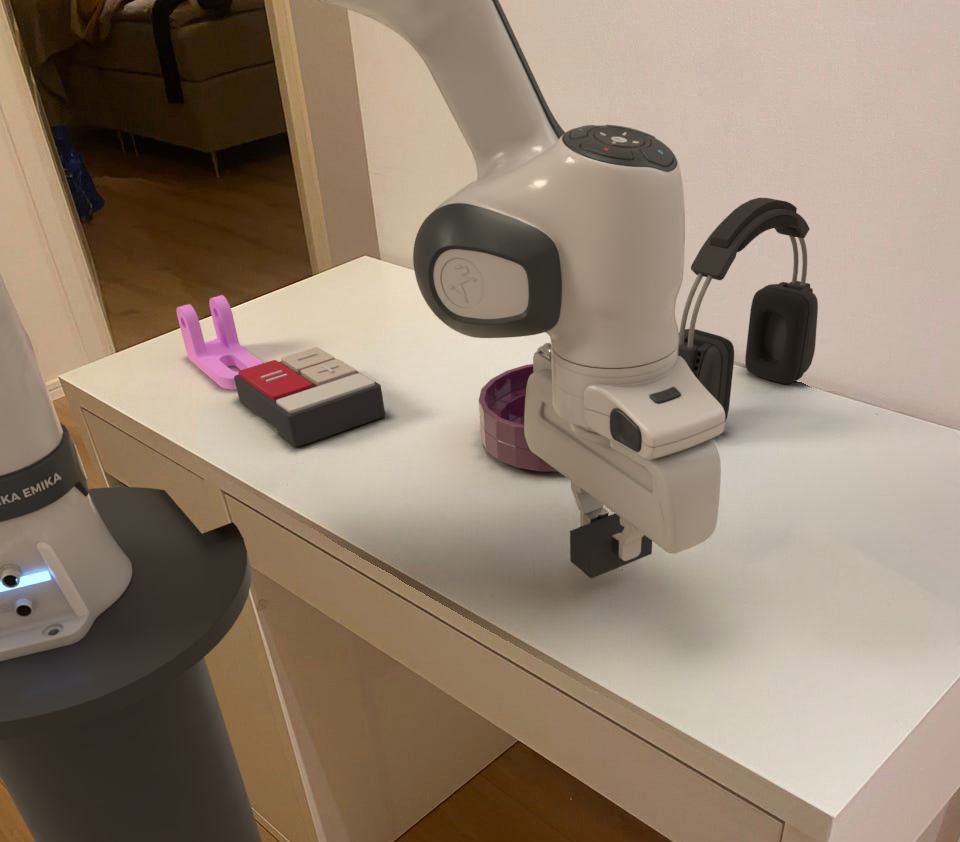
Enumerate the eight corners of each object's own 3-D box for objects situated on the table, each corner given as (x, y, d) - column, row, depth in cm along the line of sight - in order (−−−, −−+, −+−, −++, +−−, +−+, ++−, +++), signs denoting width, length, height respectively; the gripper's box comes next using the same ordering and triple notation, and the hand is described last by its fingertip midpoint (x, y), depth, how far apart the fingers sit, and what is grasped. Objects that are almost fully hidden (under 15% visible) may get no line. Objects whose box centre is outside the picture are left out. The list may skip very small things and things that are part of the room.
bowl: (533, 493, 93) (531, 445, 90) (455, 431, 104) (452, 387, 100) (662, 447, 98) (665, 400, 95) (576, 392, 109) (577, 349, 106)
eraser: (591, 579, 78) (591, 547, 76) (569, 561, 80) (569, 530, 79) (652, 554, 80) (653, 523, 79) (629, 537, 82) (630, 506, 81)
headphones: (698, 449, 98) (716, 240, 85) (646, 430, 101) (656, 227, 89) (817, 372, 109) (849, 178, 96) (767, 357, 113) (791, 169, 100)
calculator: (318, 342, 115) (381, 378, 104) (325, 377, 117) (387, 416, 107) (230, 369, 110) (286, 409, 100) (239, 405, 113) (295, 448, 102)
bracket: (188, 358, 123) (173, 303, 118) (230, 346, 125) (217, 291, 120) (229, 394, 114) (214, 335, 110) (273, 380, 116) (261, 322, 112)
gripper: (500, 345, 77) (509, 499, 85) (666, 449, 63) (656, 620, 71) (568, 325, 79) (570, 476, 88) (743, 421, 65) (724, 590, 74)
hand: (610, 542), depth 79 cm, fingers closed on eraser, 3 cm apart
